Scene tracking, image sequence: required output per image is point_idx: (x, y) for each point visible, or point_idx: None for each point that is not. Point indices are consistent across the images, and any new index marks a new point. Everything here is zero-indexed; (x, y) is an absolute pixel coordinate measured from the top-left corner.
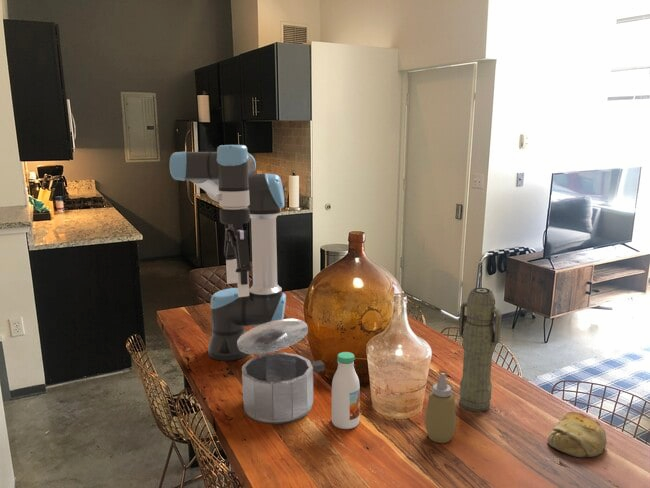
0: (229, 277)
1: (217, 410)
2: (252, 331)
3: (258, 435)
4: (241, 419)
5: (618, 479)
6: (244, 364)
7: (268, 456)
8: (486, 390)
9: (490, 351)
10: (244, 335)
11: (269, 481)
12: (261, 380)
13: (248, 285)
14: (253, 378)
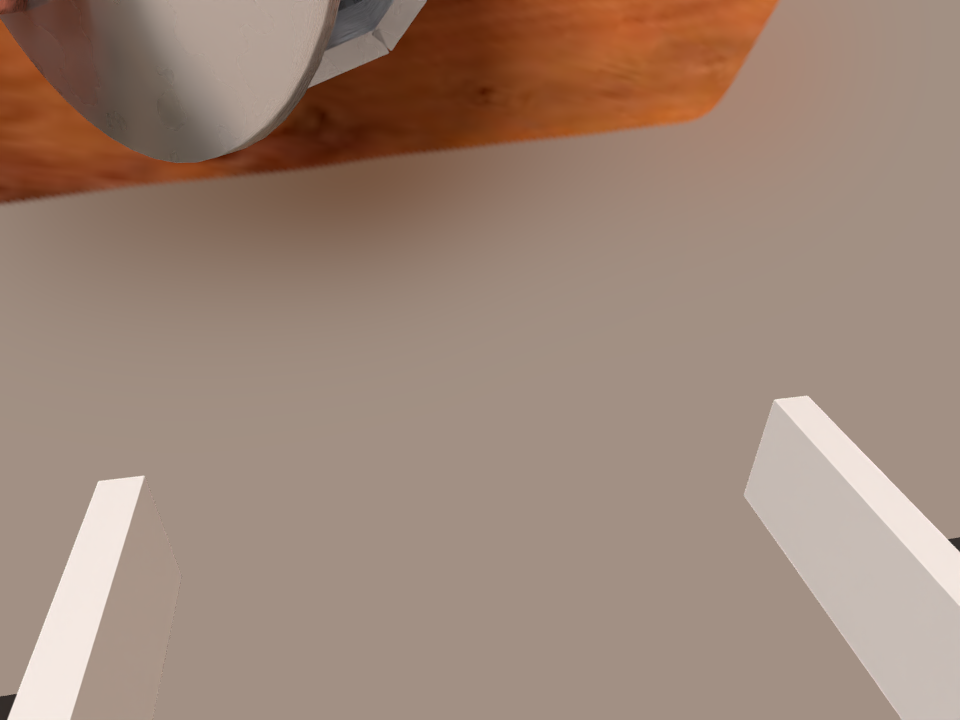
0: (158, 637)
1: (236, 159)
2: (296, 97)
3: (480, 32)
4: None
5: None
6: None
7: (621, 32)
8: None
9: None
10: (248, 143)
11: (736, 66)
12: (390, 5)
13: (897, 496)
14: (351, 46)
